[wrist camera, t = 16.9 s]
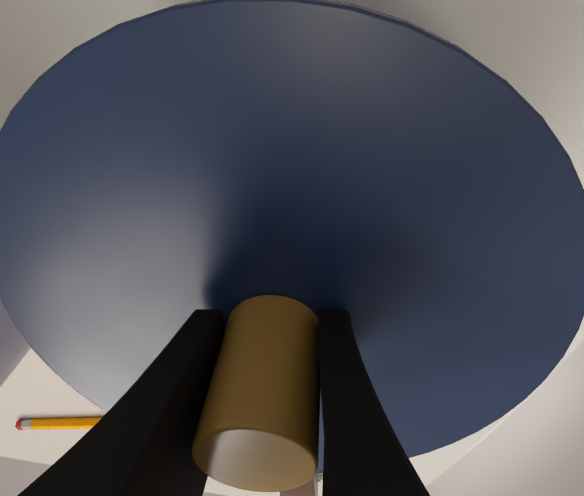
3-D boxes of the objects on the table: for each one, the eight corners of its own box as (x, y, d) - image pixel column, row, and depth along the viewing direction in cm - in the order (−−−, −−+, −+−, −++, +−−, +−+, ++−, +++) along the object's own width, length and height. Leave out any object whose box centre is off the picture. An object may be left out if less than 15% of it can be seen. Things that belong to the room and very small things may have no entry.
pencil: (18, 417, 32) (13, 425, 31) (179, 413, 30) (176, 422, 29) (24, 422, 32) (19, 431, 32) (183, 419, 30) (180, 428, 30)
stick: (317, 483, 34) (317, 518, 32) (286, 481, 34) (283, 516, 32) (313, 415, 28) (311, 452, 26) (276, 413, 29) (271, 450, 26)
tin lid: (116, 433, 16) (54, 572, 13) (-125, 23, 8) (-512, 82, 4) (498, 448, 15) (552, 612, 11) (698, -48, 6) (1196, -49, 3)
